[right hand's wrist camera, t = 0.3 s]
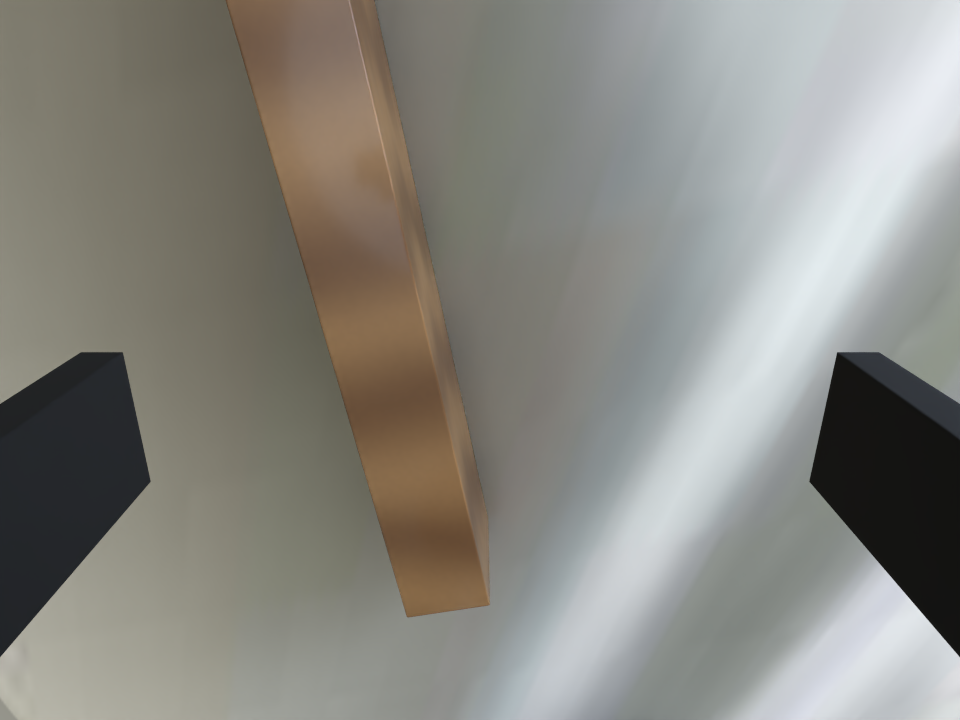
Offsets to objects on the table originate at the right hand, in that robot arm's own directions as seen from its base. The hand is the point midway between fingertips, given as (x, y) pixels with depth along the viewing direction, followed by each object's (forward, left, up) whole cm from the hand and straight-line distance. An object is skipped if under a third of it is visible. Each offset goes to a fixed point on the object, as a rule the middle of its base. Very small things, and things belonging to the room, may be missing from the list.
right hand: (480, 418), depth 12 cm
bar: (+8, +8, -26) cm, 29 cm away
